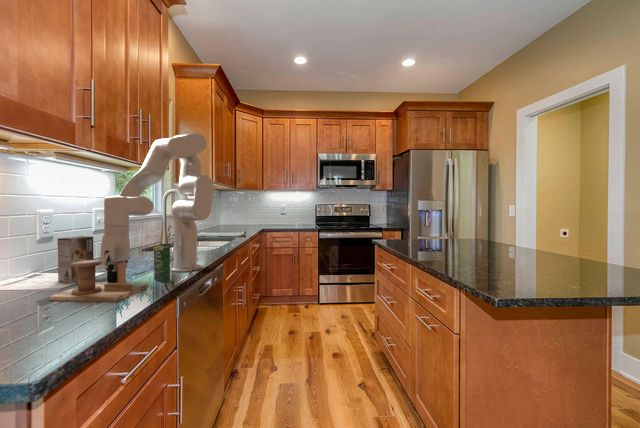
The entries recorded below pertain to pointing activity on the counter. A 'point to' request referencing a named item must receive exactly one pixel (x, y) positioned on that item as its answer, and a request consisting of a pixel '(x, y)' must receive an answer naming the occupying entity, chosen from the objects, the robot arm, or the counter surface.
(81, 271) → the bobbin
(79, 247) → the coffee box
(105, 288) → the board
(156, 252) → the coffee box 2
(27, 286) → the counter surface
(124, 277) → the tab block
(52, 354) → the counter surface
